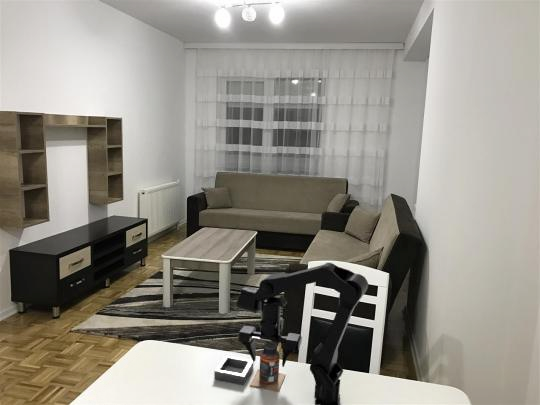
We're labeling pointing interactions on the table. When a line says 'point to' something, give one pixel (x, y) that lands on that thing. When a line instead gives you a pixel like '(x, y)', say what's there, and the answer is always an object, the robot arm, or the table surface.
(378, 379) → the table surface
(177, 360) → the table surface
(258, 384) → the pad
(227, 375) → the collar
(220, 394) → the table surface
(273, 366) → the supplement bottle
